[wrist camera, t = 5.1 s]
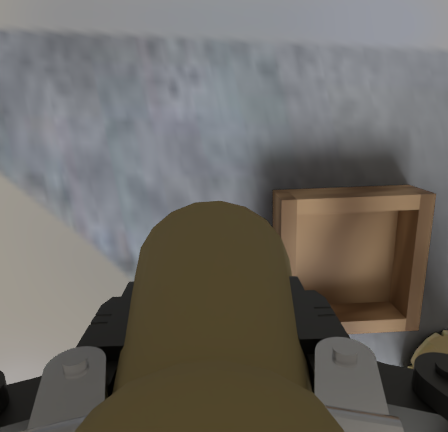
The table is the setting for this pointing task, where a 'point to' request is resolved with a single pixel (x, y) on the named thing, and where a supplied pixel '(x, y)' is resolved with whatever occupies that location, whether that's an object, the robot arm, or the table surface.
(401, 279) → the wooden tray
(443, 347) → the scroll
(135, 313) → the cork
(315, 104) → the table surface
